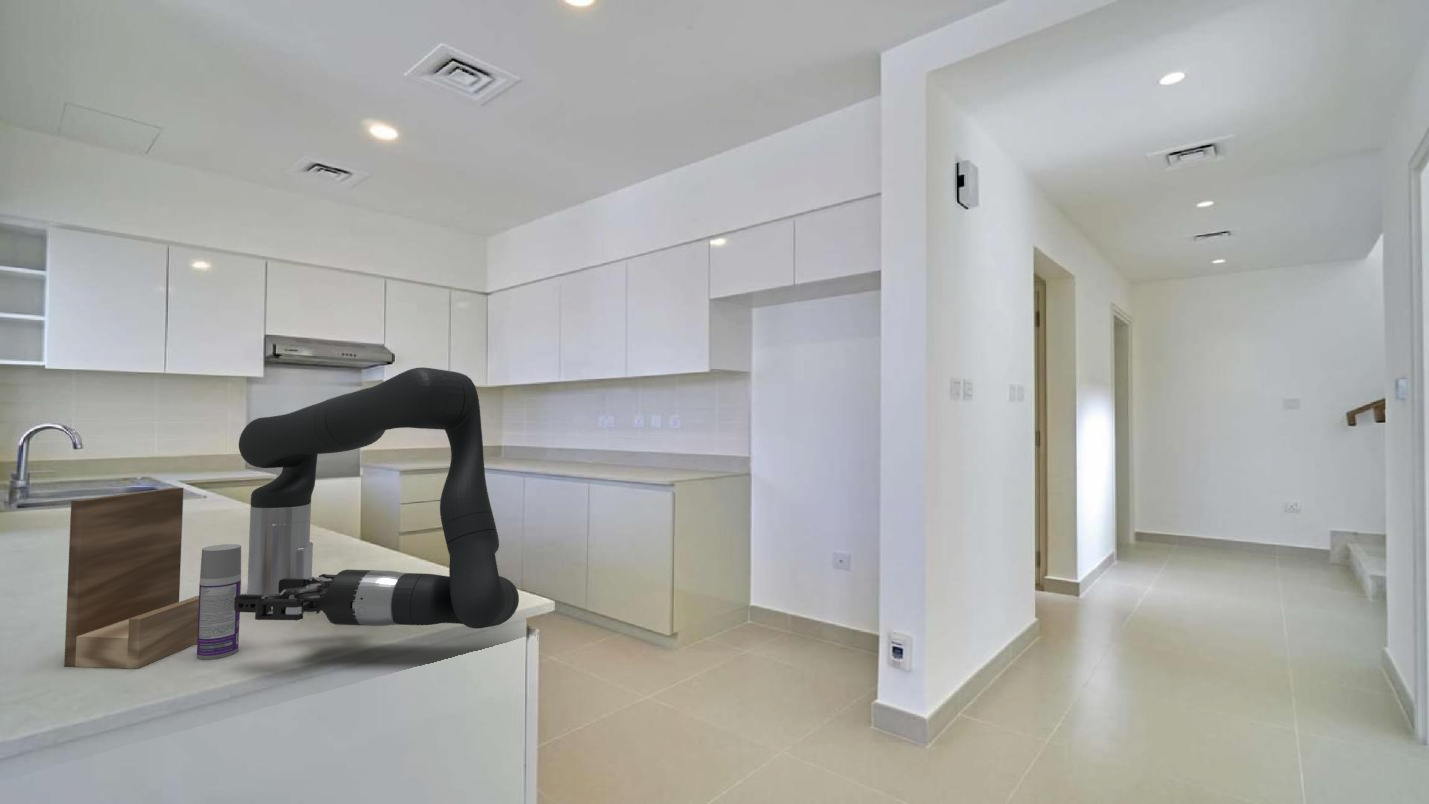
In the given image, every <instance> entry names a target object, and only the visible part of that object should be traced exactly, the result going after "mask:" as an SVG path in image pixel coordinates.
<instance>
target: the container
mask: <svg viewBox="0 0 1429 804" xmlns="http://www.w3.org/2000/svg"><path fill="white" fill-rule="evenodd" d="M199 571H200V573H199V574H200V575H199V584H198V585H199V586H198V595H199V611H198V638H197V644H196V657H197V659H199V660H217V659H221V658H226V657H229V656H232V655H234V654H236V653H237V652H238V651H239V642H240V641H239V640H240V638H239V637H240V616H241V612H236V611H235V610H234V601H235V597H236V596H238V595H241V594H242V593H241V592H242V545H241V544H238V543H237V544H235V543H226V544H225V543H224V544H215V545H209V546H205V547H202V549H201V558H200V570H199Z"/></svg>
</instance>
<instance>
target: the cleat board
mask: <svg viewBox="0 0 1429 804" xmlns="http://www.w3.org/2000/svg"><path fill="white" fill-rule="evenodd" d="M183 508H184V487H167V488H159V489H153V490H145V491H144V490H143V491H135V492H130V493H121V494H113V495H105V496H99V497H98V496H97V497H89V498H83V499H82V498H81V499H75V500H71V501H70V521H69V522H70V523H69V524H70V525H69V526H70V527H69V542H68V543H69V548H68V570H67V594H66V617H65V618H66V619H65V639H64V662H63V664H64V665H63V666H64V668H65V667H66V668H67V667H68V668H69V667H71V668H100V669H101V668H103V669H106V668H107V669H136V670H137V669H141V668H143V667H145V666H148V665H149V664H152V663H154V662H157V661H158V660H161V659H164V658H166V657H168V656H171V655H173V654H175V653H178V652H180V651H182V650H185V649H187V648H190V647H191V646H194V645H197V638H198V611H199V594H198V595H196V596H195V595H194V596H193V597H190V598H187V599H184V600H181V601H180V590H181V589H180V587H181V564H182V563H181V562H182V558H181V557H182V538H183V537H182V536H183V534H182V533H183V532H182V531H183V513H184V512H183V511H184V509H183Z"/></svg>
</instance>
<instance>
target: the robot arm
mask: <svg viewBox="0 0 1429 804" xmlns="http://www.w3.org/2000/svg"><path fill="white" fill-rule="evenodd" d="M405 428H406V429H407V428H409V429H410V428H411V429H422V430H423V429H425V430H427V429H428V430H440V431H441V430H443V431H445V434H446V436H447V439H448V442H449V446H450V455H451V456H450V465H449V468H448V473H447V476H446V479H445V482H444V485H443V488H442V491H441V495H440V501H439V514H440V521H441V526H442V530H443V536H444V539H445V544H446V548H447V551H448V555H449V569H448V572H449V574H448V575H449V576H448V575H441V574H434V573H423V572H422V573H421V572H420V573H419V572H418V573H417V572H416V573H415V572H401V571H395V570H374V569H344V570H341V571H339V572H338V573H337V574H326V573H322V574H319V575H318V577H314V576H313V557H314V556H313V555H314V553H313V550H314V547H313V546H314V543H313V542H311V512H312V509H311V508H312V496H313V491H314V490H315V486H316V485H315V484H316V478H317V477H316V475H317V474H316V473H317V463H318V456H319V455H322V454H324V455H325V454H335V453H336V454H337V453H343V452H349V451H352V450H357V449H360V448H364V447H368V446H370V445H372V444H375V443H376V442H378V440H380V438H382V437H383V435H384V434H385V433H386V431H388V430H392V429H405ZM238 450H239V452H240V453H239V454H240V456H241V457H242V459H243V460H244V461H246V463H248V464H249V465H250V466H253V467H255V468H260V469H272V468H273V469H277V468H279V469H280V468H282V470H281V473H280V474H279V476H277V477H276V478H275V479H273V480H272V481H270V482H269V483H267V484H264V485H262V486H259V487H257V488H255V489H253V491H252V492H251V494H250V511H249V536H248V539H249V540H248V563H247V564H248V566H247V567H248V568H247V590H246V593H245V594H243V593H241V594H240V595H238V596H236V597H235V601H234V610H235V611H236V612H240V613H255V615H254V620H258V621H300V620H303V619H304V614H306V615H309V616H311V615H317V614H320V613H321V612H323V614H324V615H325V617H326V618H327V620H328V621H329V622H330V623H331V624H332V625H337V626H364V627H386V626H387V627H388V626H396V625H397V626H398V625H400V626H430V625H439V624H456V625H457V624H459V625H464V626H466V627H468V628H471V629H474V630H475V629H484V628H491V627H496V626H499V625H503V623H507V621H508V620H509V619H511V617H512V616H513V615H514V614H515V613H516V611H517V608H518V606H519V602H520V596H519V591H518V589H517V587H516V585H515V584H514V583H513V582H512V581H511V580H509V579H508V578H507V577H503V576H500V575H499V570H498V564H497V559H496V557H497V556H496V553H497V552H498V550H499V549H500V540H499V534H498V531H497V530H498V529H497V526H496V522H495V518H494V514H493V510H492V506H491V502H490V498H489V496H490V495H489V492H488V487H487V481H486V472H485V459H484V458H485V457H484V444H483V430H482V417H481V407H480V399H479V394H478V391H477V387H476V385H475V383H474V382H473V380H472V379H471V378H470V377H469V376H468V375H466V374H464V373H461V372H457V371H452V370H446V369H445V370H444V369H440V368H431V367H414V368H410V369H407V370H405V371H402V372H401V373H399V374H396V375H395V376H392V377H390V378H389V379H387V380H384V381H382V382H381V383H378V384H376V385H374V386H371V387H370V386H369V387H365V388H363V389H359V390H356V391H353V392H349V393H344V394H341V395H338V396H335V397H331V398H328V399H326V400H323V401H321V402H317V403H315V404H312V405H309V406H306V407H302V408H300V409H298V410H295V411H292V412H289V413H284V414H280V415H274V416H266V417H258V418H255V419H253V420H252V421H250V422H248V423H247V425H246V426H245V427H244V429H242V431H241V433H240V435H239V440H238Z"/></svg>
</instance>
